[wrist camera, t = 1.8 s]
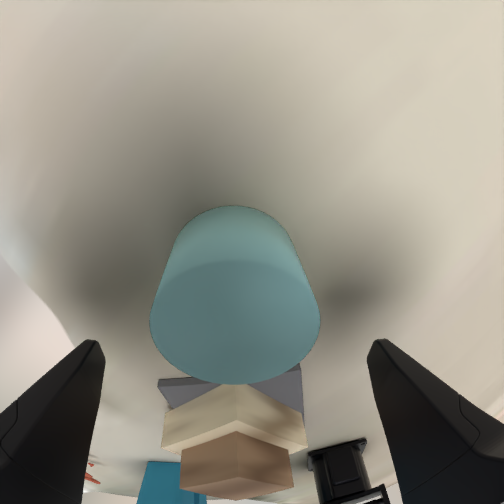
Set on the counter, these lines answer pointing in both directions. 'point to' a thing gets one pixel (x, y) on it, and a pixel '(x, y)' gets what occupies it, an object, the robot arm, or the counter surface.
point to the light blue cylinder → (234, 299)
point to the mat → (279, 388)
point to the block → (166, 486)
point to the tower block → (235, 467)
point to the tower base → (233, 419)
